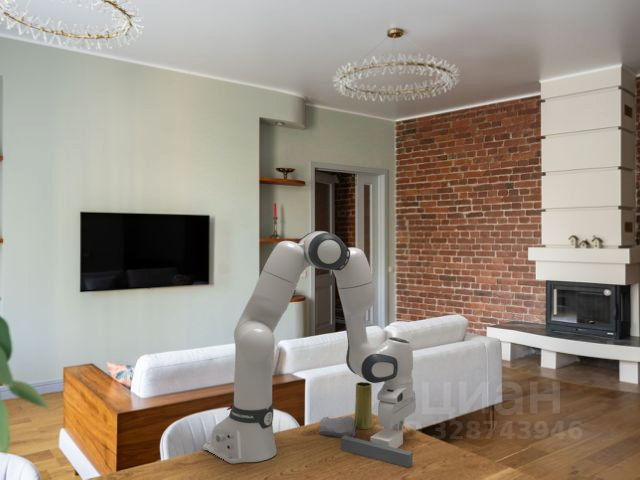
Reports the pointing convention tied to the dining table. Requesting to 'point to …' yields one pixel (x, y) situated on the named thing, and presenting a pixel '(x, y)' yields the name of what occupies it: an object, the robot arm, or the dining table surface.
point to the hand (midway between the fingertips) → (397, 433)
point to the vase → (363, 405)
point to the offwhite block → (388, 437)
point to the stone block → (338, 426)
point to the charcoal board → (377, 451)
